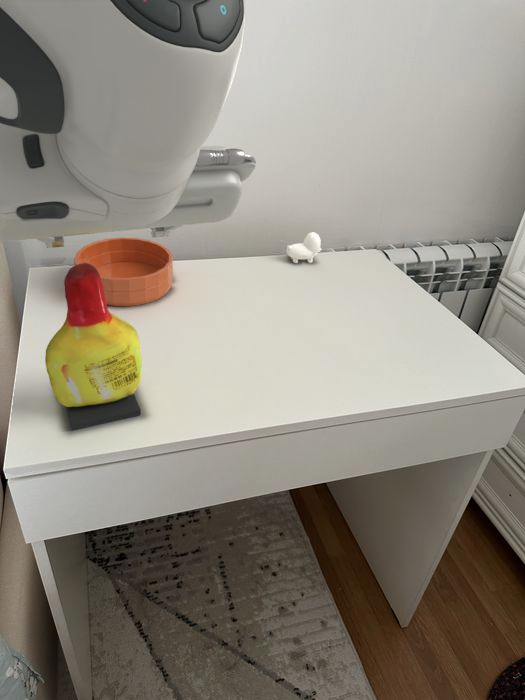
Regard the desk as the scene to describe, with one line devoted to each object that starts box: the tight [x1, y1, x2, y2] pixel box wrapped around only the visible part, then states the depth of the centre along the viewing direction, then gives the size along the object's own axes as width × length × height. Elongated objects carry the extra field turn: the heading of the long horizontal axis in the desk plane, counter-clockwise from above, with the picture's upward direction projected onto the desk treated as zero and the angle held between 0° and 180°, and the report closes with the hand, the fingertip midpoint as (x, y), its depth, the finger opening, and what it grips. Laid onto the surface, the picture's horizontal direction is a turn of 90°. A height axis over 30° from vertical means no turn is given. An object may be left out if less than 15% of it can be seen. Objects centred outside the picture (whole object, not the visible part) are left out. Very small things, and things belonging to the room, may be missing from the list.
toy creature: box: [286, 231, 323, 264], centre depth 114 cm, size 5×8×6 cm, turn 102°
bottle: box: [44, 263, 142, 408], centre depth 67 cm, size 12×6×20 cm, turn 115°
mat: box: [65, 393, 142, 432], centre depth 73 cm, size 9×9×1 cm
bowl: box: [73, 237, 174, 307], centre depth 99 cm, size 17×17×6 cm
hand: (107, 234), depth 49 cm, fingers open, 8 cm apart
